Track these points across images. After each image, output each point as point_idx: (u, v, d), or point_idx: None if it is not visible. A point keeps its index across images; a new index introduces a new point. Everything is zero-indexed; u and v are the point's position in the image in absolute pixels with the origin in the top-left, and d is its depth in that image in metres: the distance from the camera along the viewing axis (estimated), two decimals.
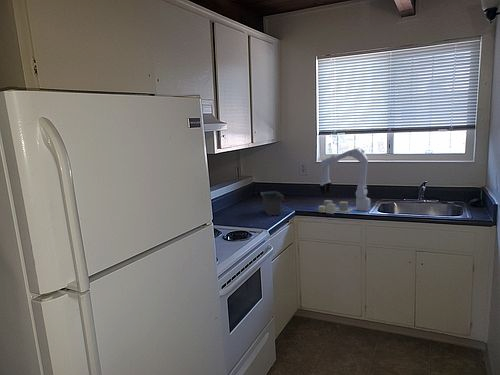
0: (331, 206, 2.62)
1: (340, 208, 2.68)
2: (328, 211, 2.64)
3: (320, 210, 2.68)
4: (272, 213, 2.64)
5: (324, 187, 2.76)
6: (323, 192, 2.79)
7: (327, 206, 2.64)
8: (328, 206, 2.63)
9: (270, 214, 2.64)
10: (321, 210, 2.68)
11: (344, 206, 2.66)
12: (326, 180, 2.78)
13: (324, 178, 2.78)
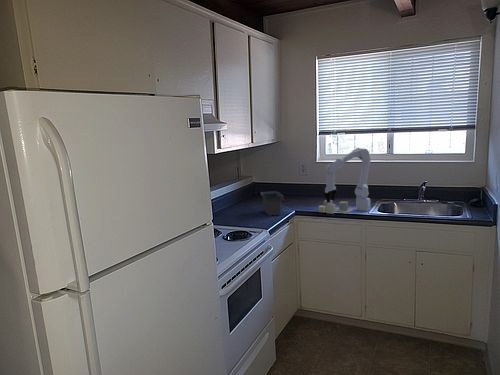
0: (331, 206, 2.62)
1: (340, 208, 2.68)
2: (328, 211, 2.64)
3: (320, 210, 2.68)
4: (272, 213, 2.64)
5: (329, 194, 2.57)
6: (328, 200, 2.60)
7: (327, 206, 2.64)
8: (328, 206, 2.63)
9: (270, 214, 2.64)
10: (321, 210, 2.68)
11: (344, 206, 2.66)
12: (331, 187, 2.59)
13: (329, 185, 2.59)
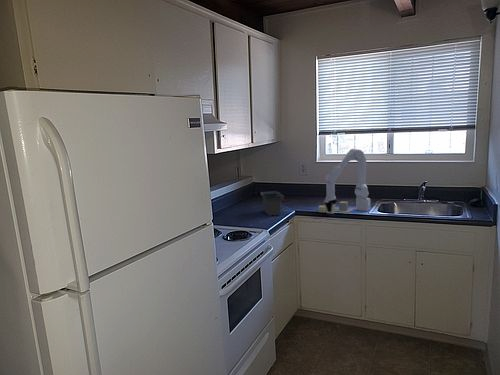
0: None
1: (340, 208, 2.68)
2: None
3: (320, 210, 2.68)
4: (272, 213, 2.64)
5: (330, 204, 2.60)
6: (329, 209, 2.62)
7: None
8: None
9: (270, 214, 2.64)
10: (321, 210, 2.68)
11: (344, 206, 2.66)
12: (331, 197, 2.61)
13: (329, 195, 2.61)
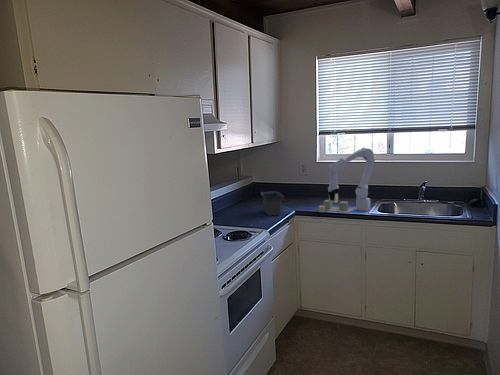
0: None
1: (340, 208, 2.68)
2: None
3: (320, 210, 2.68)
4: (272, 213, 2.64)
5: (333, 193, 2.62)
6: (332, 198, 2.65)
7: None
8: None
9: (270, 214, 2.64)
10: (321, 210, 2.68)
11: (344, 206, 2.66)
12: (334, 186, 2.63)
13: (332, 184, 2.63)
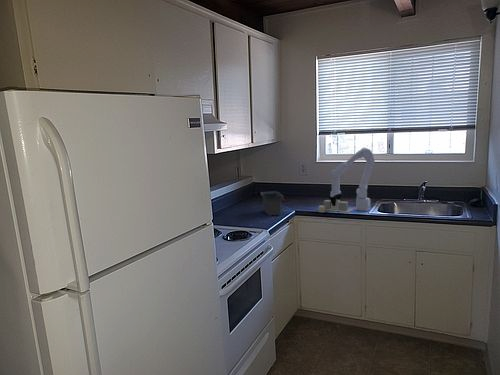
0: (336, 202, 2.69)
1: (340, 208, 2.68)
2: (333, 206, 2.71)
3: (320, 210, 2.68)
4: (272, 213, 2.64)
5: (334, 198, 2.65)
6: (333, 203, 2.68)
7: None
8: None
9: (270, 214, 2.64)
10: (321, 210, 2.68)
11: (344, 206, 2.66)
12: (336, 191, 2.67)
13: (334, 189, 2.67)
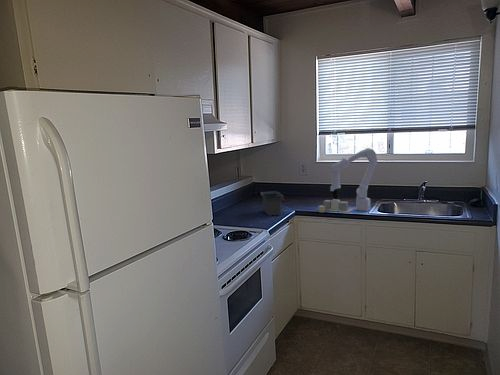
0: (336, 202, 2.69)
1: (340, 208, 2.68)
2: (333, 206, 2.71)
3: (320, 210, 2.68)
4: (272, 213, 2.64)
5: (336, 192, 2.67)
6: (335, 197, 2.70)
7: (332, 202, 2.71)
8: (333, 202, 2.70)
9: (270, 214, 2.64)
10: (321, 210, 2.68)
11: (344, 206, 2.66)
12: (336, 185, 2.67)
13: (334, 183, 2.67)
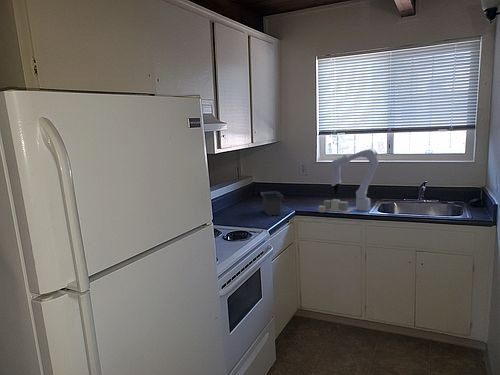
0: (336, 202, 2.69)
1: (340, 208, 2.68)
2: (333, 206, 2.71)
3: (320, 210, 2.68)
4: (272, 213, 2.64)
5: (337, 187, 2.73)
6: (336, 192, 2.76)
7: (332, 202, 2.71)
8: (333, 202, 2.70)
9: (270, 214, 2.64)
10: (321, 210, 2.68)
11: (344, 206, 2.66)
12: (337, 180, 2.72)
13: (335, 178, 2.72)
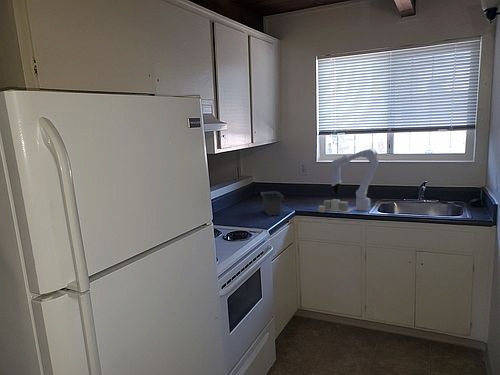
0: (336, 202, 2.69)
1: (340, 208, 2.68)
2: (333, 206, 2.71)
3: (320, 210, 2.68)
4: (272, 213, 2.64)
5: (337, 187, 2.73)
6: (336, 192, 2.76)
7: (332, 202, 2.71)
8: (333, 202, 2.70)
9: (270, 214, 2.64)
10: (321, 210, 2.68)
11: (344, 206, 2.66)
12: (337, 180, 2.72)
13: (335, 178, 2.72)
